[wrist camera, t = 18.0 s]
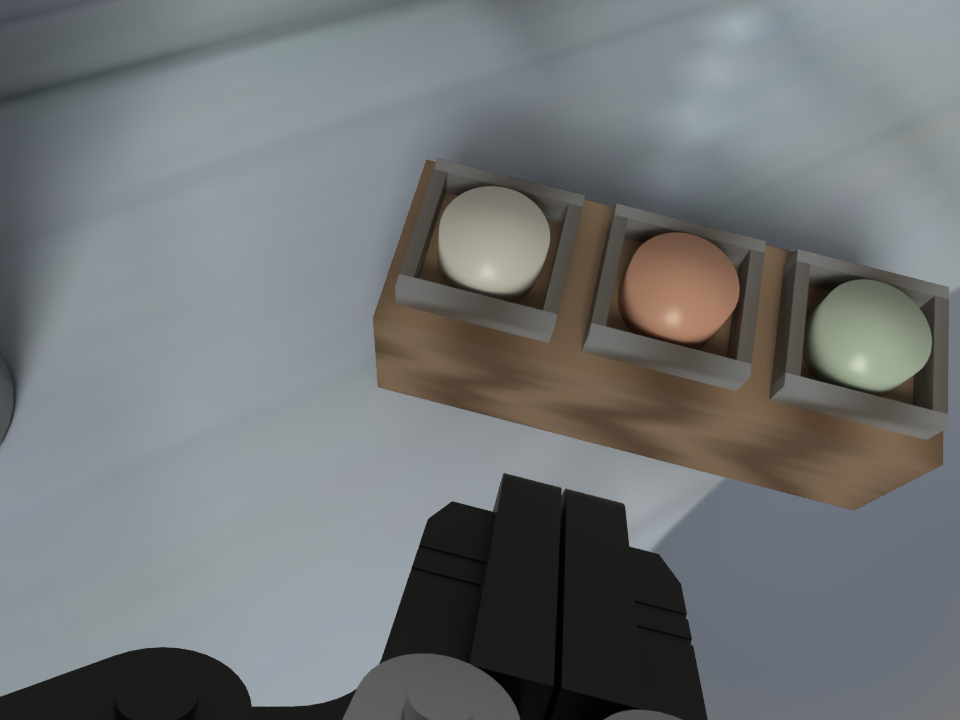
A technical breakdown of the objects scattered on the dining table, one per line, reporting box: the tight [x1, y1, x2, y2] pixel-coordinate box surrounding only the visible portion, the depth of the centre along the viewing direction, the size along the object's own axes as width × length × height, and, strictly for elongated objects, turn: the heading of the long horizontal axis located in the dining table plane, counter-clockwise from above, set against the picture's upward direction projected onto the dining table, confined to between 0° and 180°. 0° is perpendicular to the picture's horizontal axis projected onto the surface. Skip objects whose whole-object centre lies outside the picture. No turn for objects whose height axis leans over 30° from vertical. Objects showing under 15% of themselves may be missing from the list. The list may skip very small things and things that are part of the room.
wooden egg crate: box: [373, 158, 949, 510], centre depth 39 cm, size 24×8×9 cm, turn 76°
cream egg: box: [437, 186, 550, 302], centre depth 36 cm, size 5×5×2 cm
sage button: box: [802, 279, 932, 397], centre depth 35 cm, size 5×5×2 cm
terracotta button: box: [618, 233, 740, 349], centre depth 36 cm, size 5×5×2 cm
